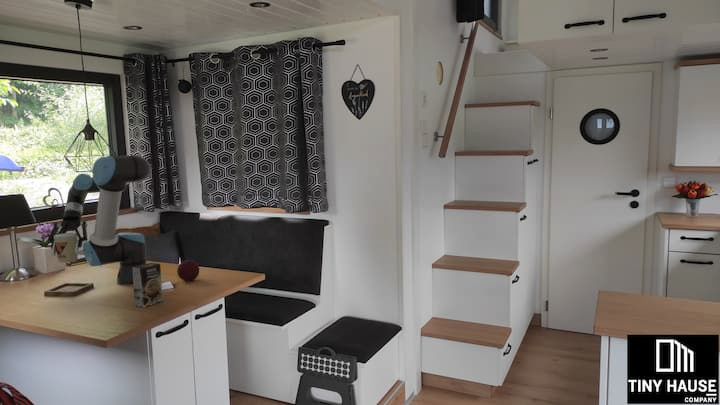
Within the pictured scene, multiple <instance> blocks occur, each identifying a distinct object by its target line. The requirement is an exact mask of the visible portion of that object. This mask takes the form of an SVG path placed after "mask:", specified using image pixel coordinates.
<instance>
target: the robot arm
mask: <svg viewBox="0 0 720 405" xmlns="http://www.w3.org/2000/svg"><path fill="white" fill-rule="evenodd" d="M91 171H92V172H91V173H92V176H91V175H89V174H88V173H84V172H83V173H79V174H77V175H76V176H75V177H74V179H73V182H72V185H71V187H70V188H69V190H68V193H67V199H66V203H65V207H64V213H63V217H62V221H61V222H60V223H57V222H54V224H53V228H52V230H51V232H50V234H49V236H48V238H47V241H48V242H49V244H50V249H51V255H52V256H53V257H56V256H57V252H56V246H55V240H54V236H55V235H58V234H63V233H68V232H74V233H76V235H77V241H76V246H75V253H76V255H78V256H79V252H80V249H81V248H82V251H83V255H84V258H85V260H86V262H87V263H88V265H89V266H90V267H91V266H92V267H101V266H103V265H109V264H115V263H119V270H118V273H117V276H116V283H117V284H118V285H124V286H125V285H127V286H129V285H134V284H133V268H132V267H135V266H139V265H144V264H147V254H146V252H147V251H146V241H145V236H144V234H143V233H140V232H119V233H117V234H116V231H117V226H118V218H119V211H120V206H121V199H122V192H124V191H125V190H127V185H129V184H132V183H140V182H143V181H145V180H147V179H148V178H149V176H150V174H151V173H152V168H151V164H150V163H149V161H147V159H145V158H144V157H142V156H140V155H133V154H132V155H131V154H130V155H115V156H114V155H113V156H112V155H106V156H101V157H98V158H97V159H96V160H95V161H94V162H93V165H92V170H91ZM93 193H94V194H95V193H99V194H98V200H97V201H98V202H97V209H96V217H95V222H94V223H95V225H94V231H93V232H92V233H91V234H90V236H89V240H88V232H87V227H88V223H87V222H86V220H84V221H82V217H83V216H82V215H83V211H84V206H85V201H86V198H87V196H88V194H93ZM80 226H81V229H82V236H81V233H80V231H79V230H78V228H80ZM59 229H60V230H59Z"/></svg>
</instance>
